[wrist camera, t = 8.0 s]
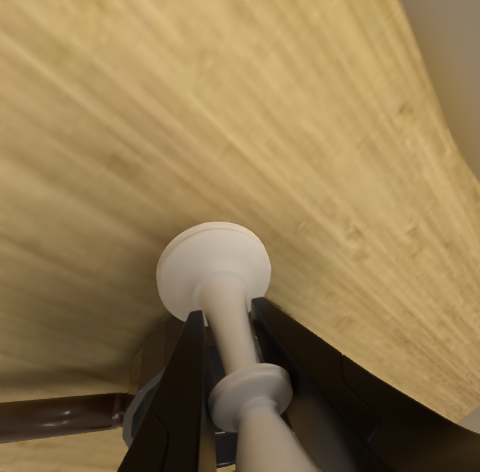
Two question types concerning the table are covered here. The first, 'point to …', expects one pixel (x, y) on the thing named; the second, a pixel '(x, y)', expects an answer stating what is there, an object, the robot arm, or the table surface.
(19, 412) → the pan handle
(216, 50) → the table surface
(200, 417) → the robot arm
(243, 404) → the chess piece
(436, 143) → the table surface
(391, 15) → the table surface
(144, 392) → the pan
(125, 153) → the table surface
